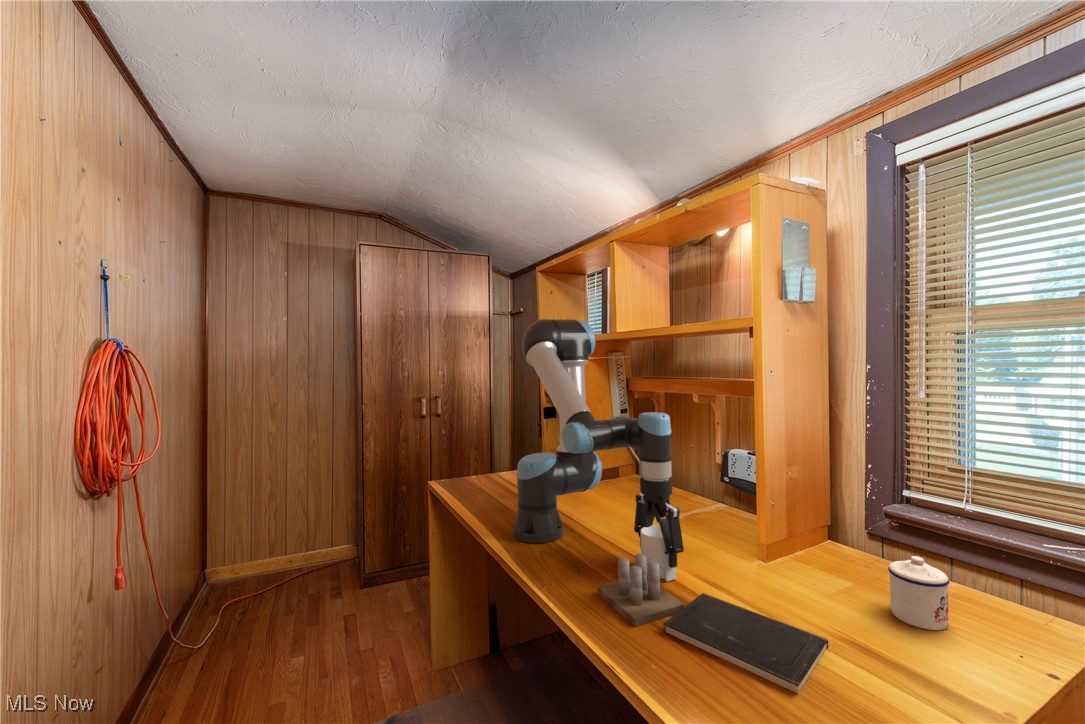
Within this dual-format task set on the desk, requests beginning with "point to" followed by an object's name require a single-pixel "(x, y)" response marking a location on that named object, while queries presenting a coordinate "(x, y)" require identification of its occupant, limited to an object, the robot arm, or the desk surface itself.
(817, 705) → the desk surface
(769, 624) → the hardcover book
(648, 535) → the white cup
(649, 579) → the peg stand
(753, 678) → the desk surface
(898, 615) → the lidded ceramic jar
